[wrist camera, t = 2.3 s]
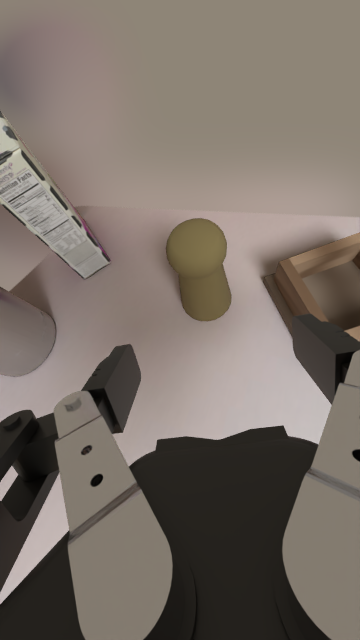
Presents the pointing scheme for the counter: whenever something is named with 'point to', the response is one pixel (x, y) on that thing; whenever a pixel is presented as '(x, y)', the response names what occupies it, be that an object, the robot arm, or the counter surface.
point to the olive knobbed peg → (200, 268)
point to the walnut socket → (321, 285)
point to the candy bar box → (45, 206)
